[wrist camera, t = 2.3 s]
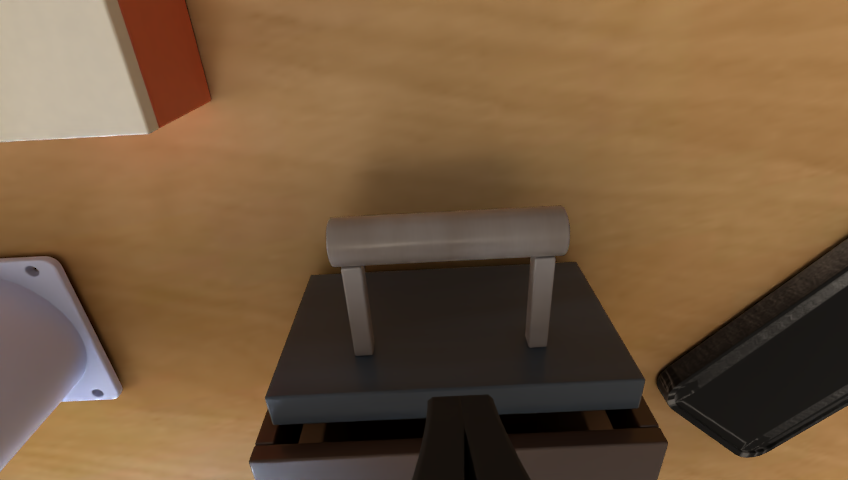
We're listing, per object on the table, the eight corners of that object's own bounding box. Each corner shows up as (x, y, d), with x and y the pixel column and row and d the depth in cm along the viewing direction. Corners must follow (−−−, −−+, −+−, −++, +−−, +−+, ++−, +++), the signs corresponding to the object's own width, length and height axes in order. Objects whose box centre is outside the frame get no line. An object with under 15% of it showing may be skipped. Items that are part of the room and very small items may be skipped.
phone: (657, 398, 22) (993, 166, 17) (646, 381, 23) (961, 156, 18) (749, 464, 25) (1069, 280, 19) (736, 445, 26) (1037, 265, 20)
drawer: (288, 165, 17) (220, 257, 11) (590, 149, 17) (682, 234, 11) (350, 477, 25) (331, 621, 20) (550, 468, 25) (590, 610, 19)
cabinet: (307, 297, 21) (247, 462, 13) (580, 283, 20) (669, 443, 13) (348, 493, 27) (323, 672, 20) (554, 484, 27) (603, 661, 20)
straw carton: (46, 109, 17) (-66, 146, 13) (-15, -32, 14) (-173, -40, 11) (212, 100, 16) (149, 134, 13) (174, -43, 14) (85, -56, 11)
